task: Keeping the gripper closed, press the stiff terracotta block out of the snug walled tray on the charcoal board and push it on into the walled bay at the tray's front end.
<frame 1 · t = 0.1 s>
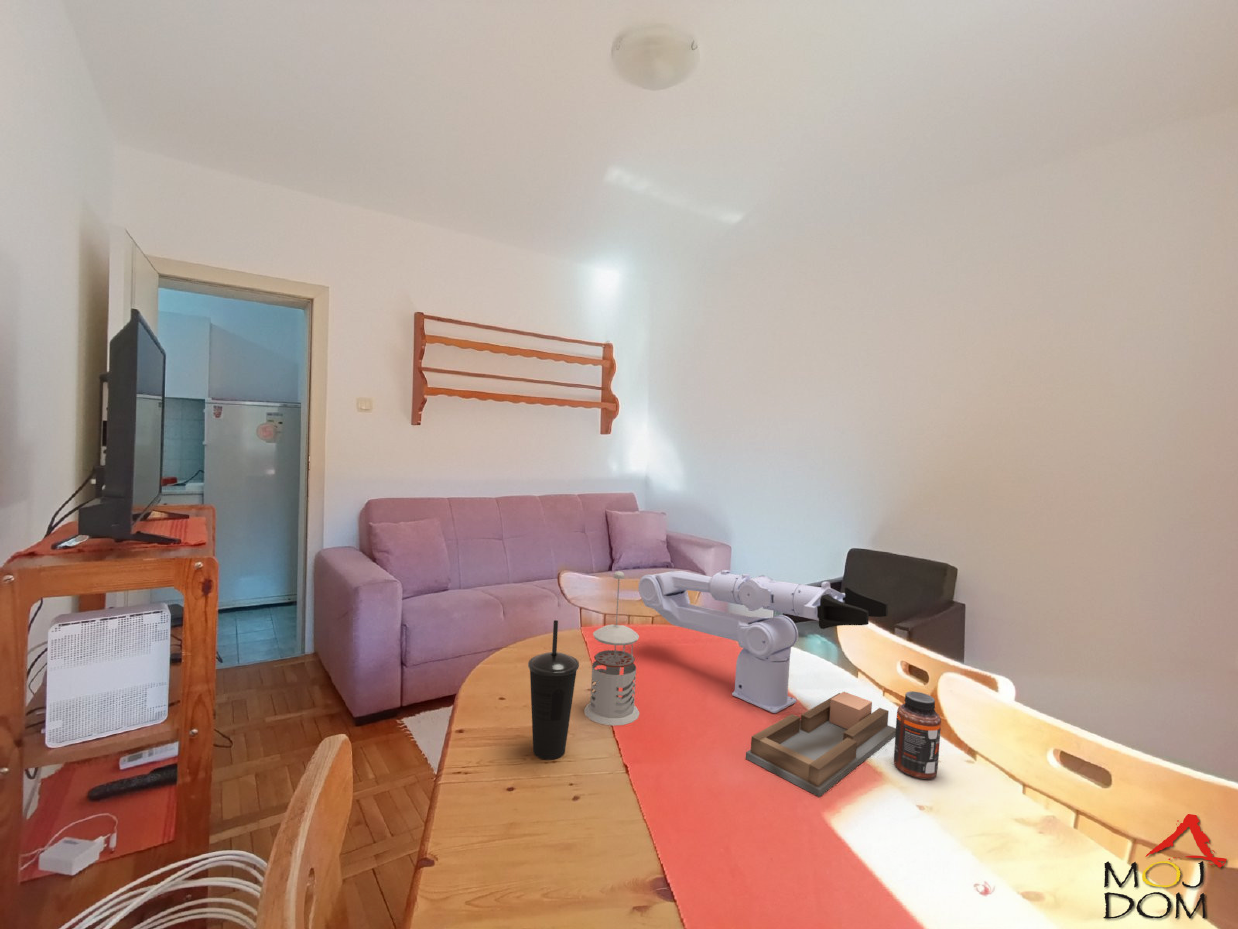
hand: (877, 614, 92), 22 cm above the table, tool horizontal, fingers open, 7 cm apart
french press: (613, 710, 99), on the table
walled tray: (844, 733, 95), on the table
drinking cup: (549, 752, 85), on the table
block: (850, 711, 97), point 3 cm above the table, slide at 0.0 cm
supplement bottle: (914, 770, 85), on the table
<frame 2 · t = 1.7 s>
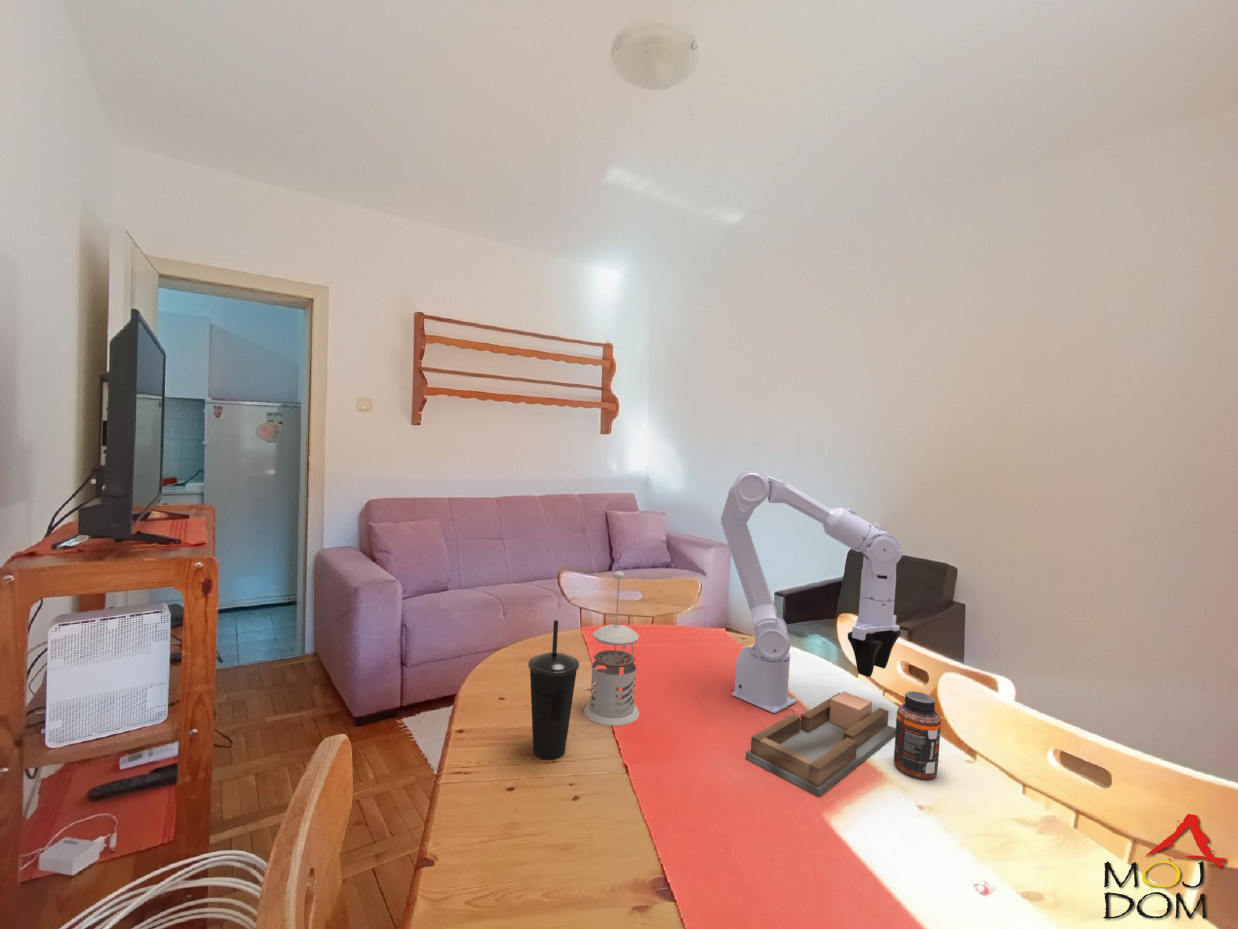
hand: (872, 670, 102), 8 cm above the table, tool pointing down, fingers open, 6 cm apart
nothing on the table moved.
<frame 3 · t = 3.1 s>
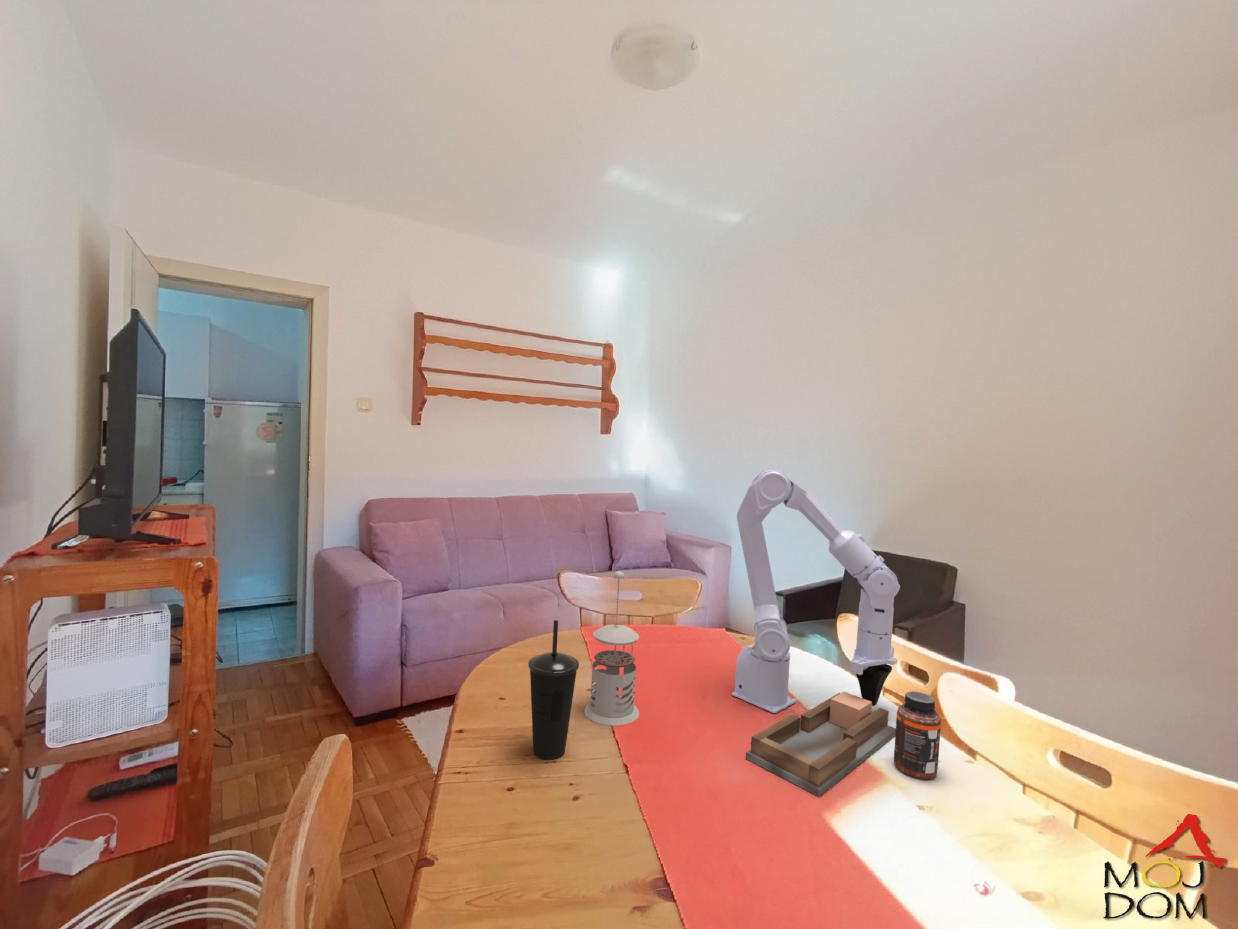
hand: (869, 703, 102), 2 cm above the table, tool pointing down, fingers closed
nothing on the table moved.
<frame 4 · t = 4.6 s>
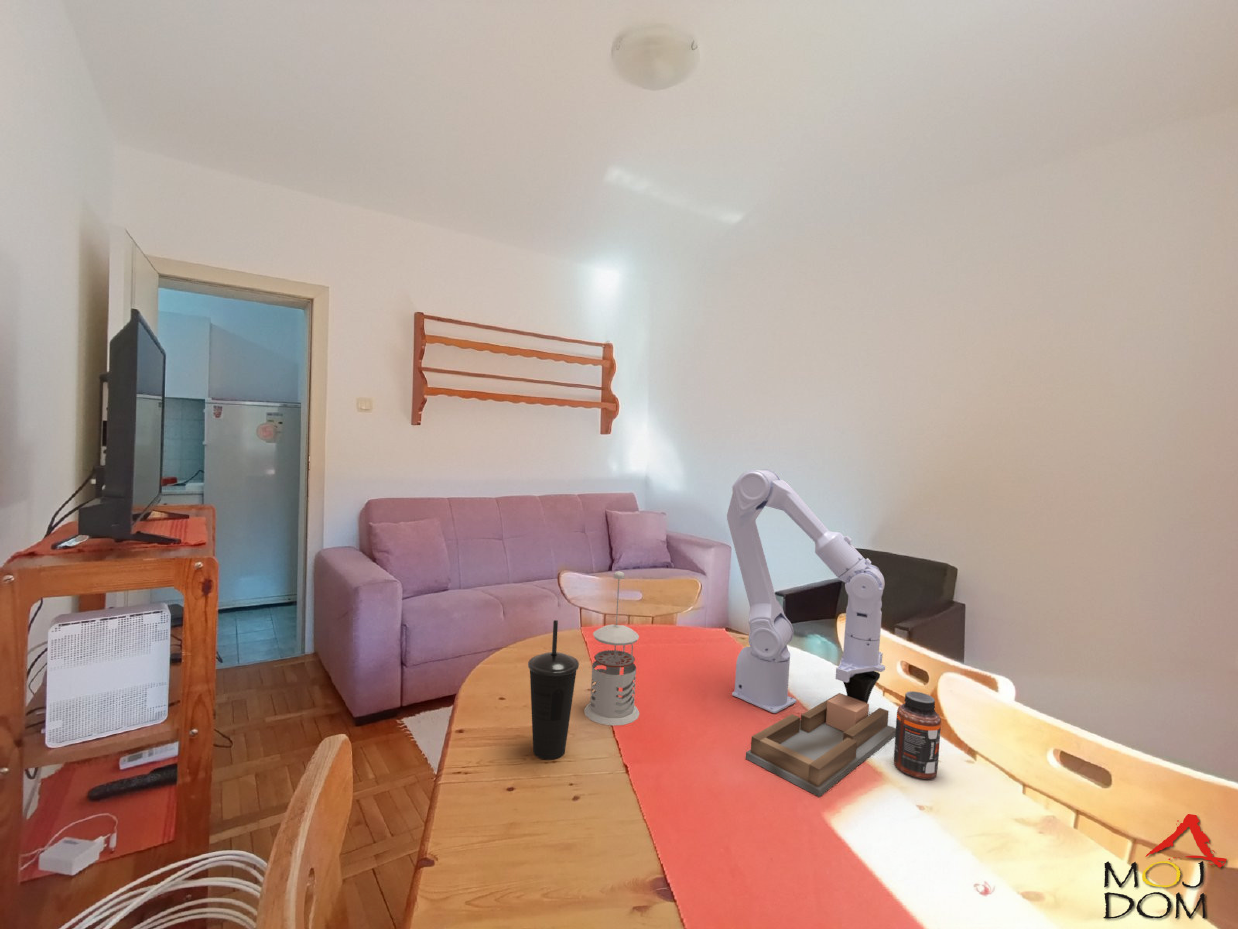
hand: (856, 711, 98), 2 cm above the table, tool pointing down, fingers closed
block: (847, 714, 96), point 3 cm above the table, slide at 1.3 cm, touching gripper
everything else where it was.
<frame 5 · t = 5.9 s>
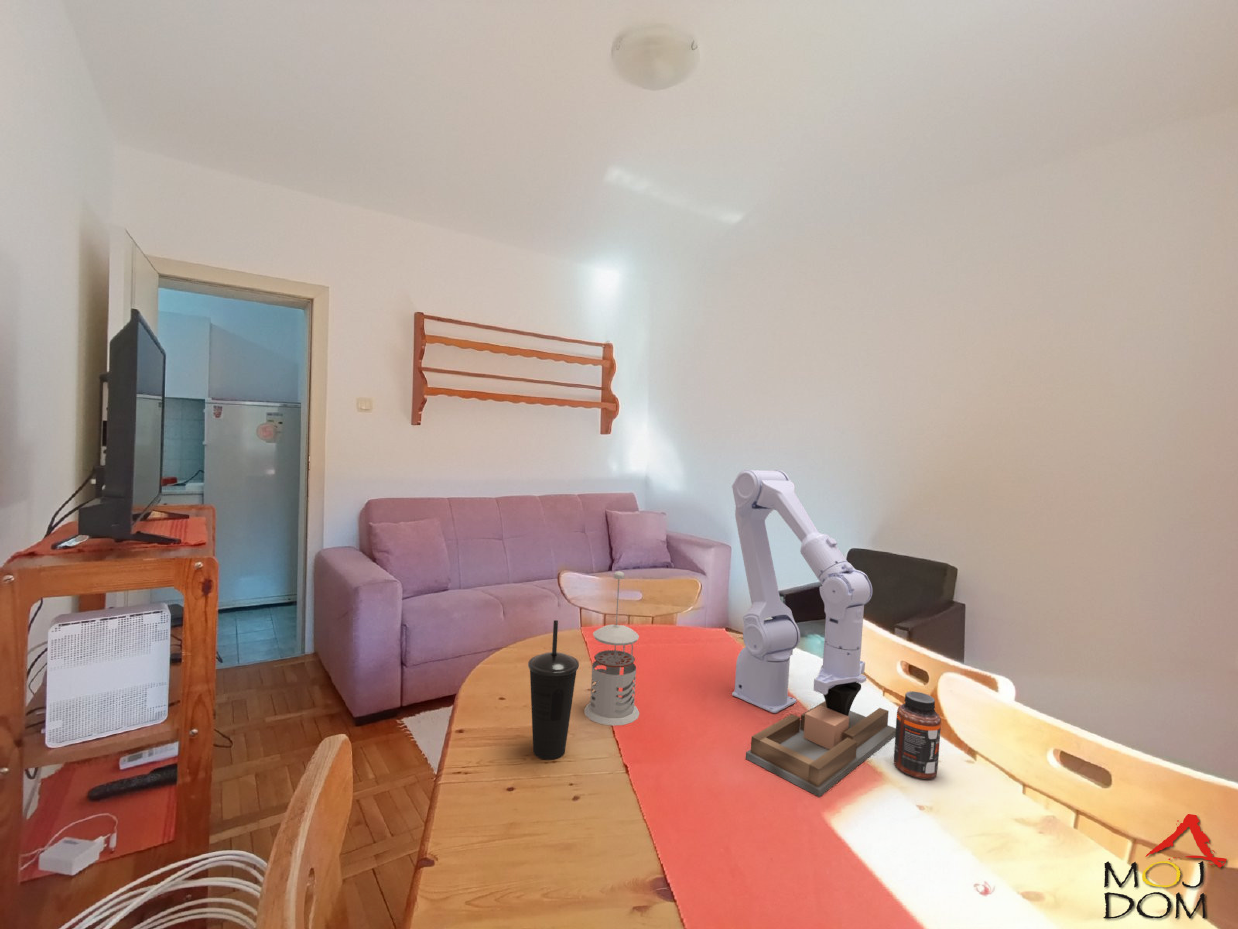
hand: (837, 724, 93), 2 cm above the table, tool pointing down, fingers closed
block: (826, 727, 91), point 3 cm above the table, slide at 8.9 cm, touching gripper
everything else where it was.
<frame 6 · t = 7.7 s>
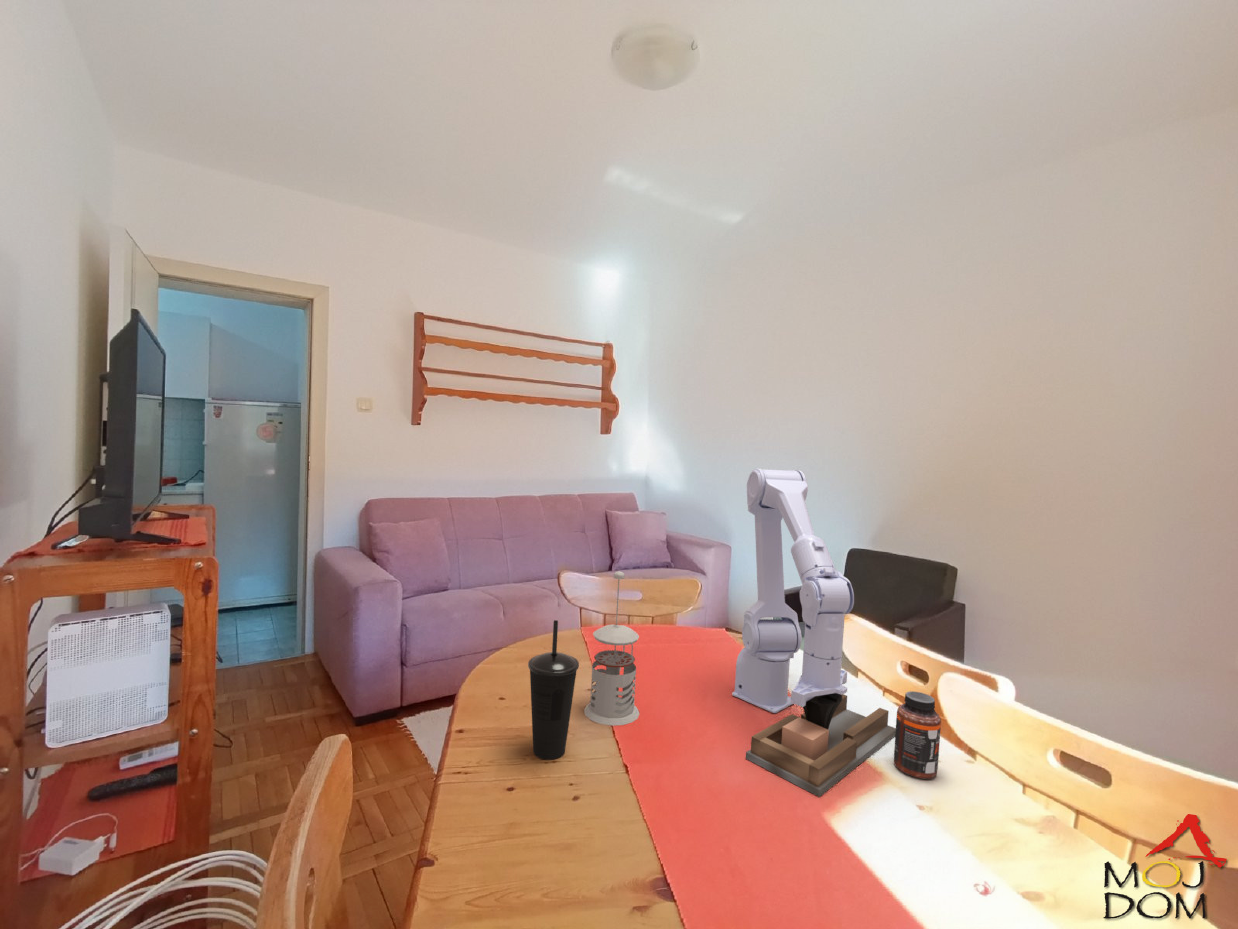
hand: (816, 737, 88), 2 cm above the table, tool pointing down, fingers closed
block: (804, 741, 86), point 3 cm above the table, slide at 15.8 cm, touching gripper
everything else where it was.
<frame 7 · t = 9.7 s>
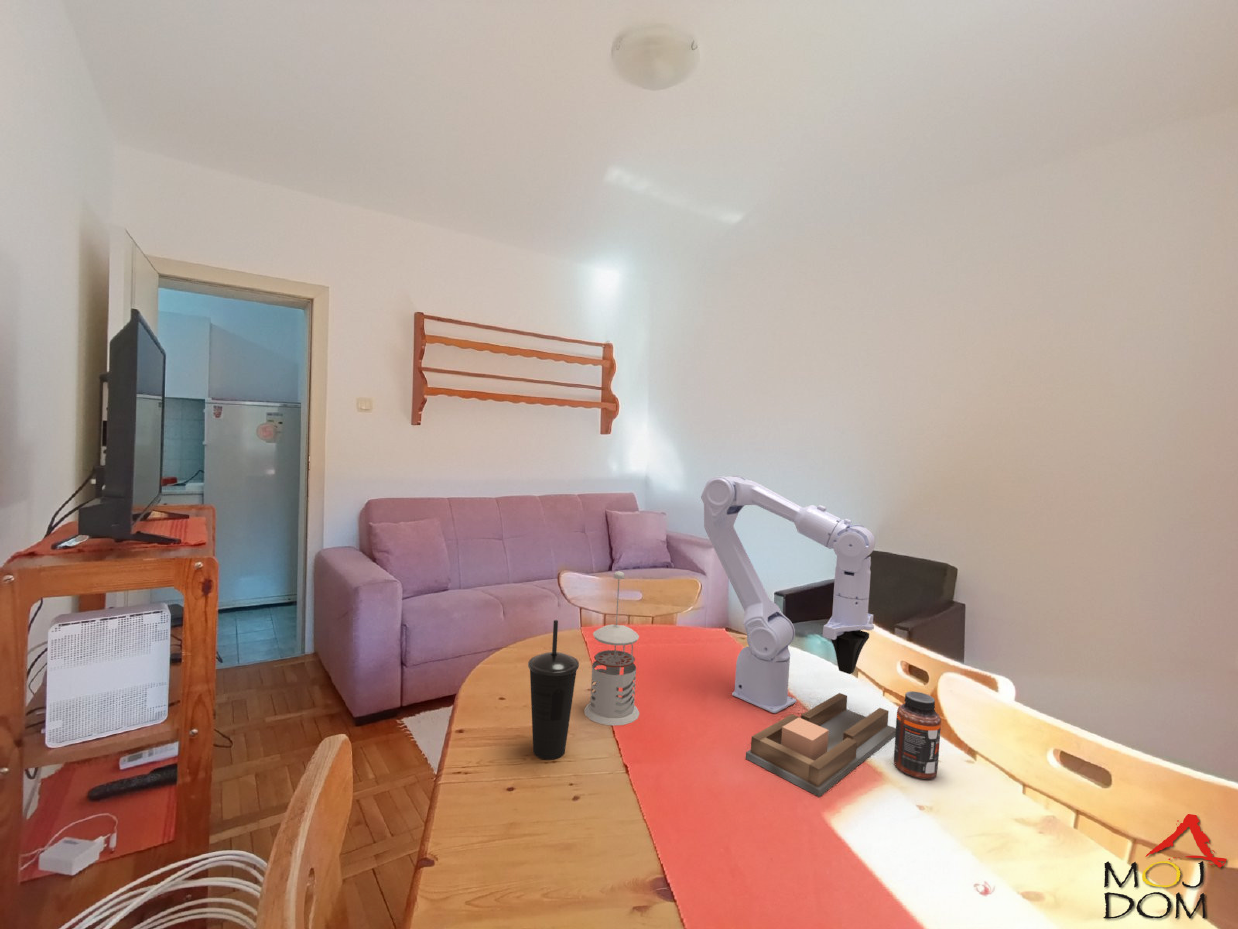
hand: (846, 671, 98), 9 cm above the table, tool pointing down, fingers closed
block: (804, 741, 86), point 3 cm above the table, slide at 15.9 cm
everything else where it was.
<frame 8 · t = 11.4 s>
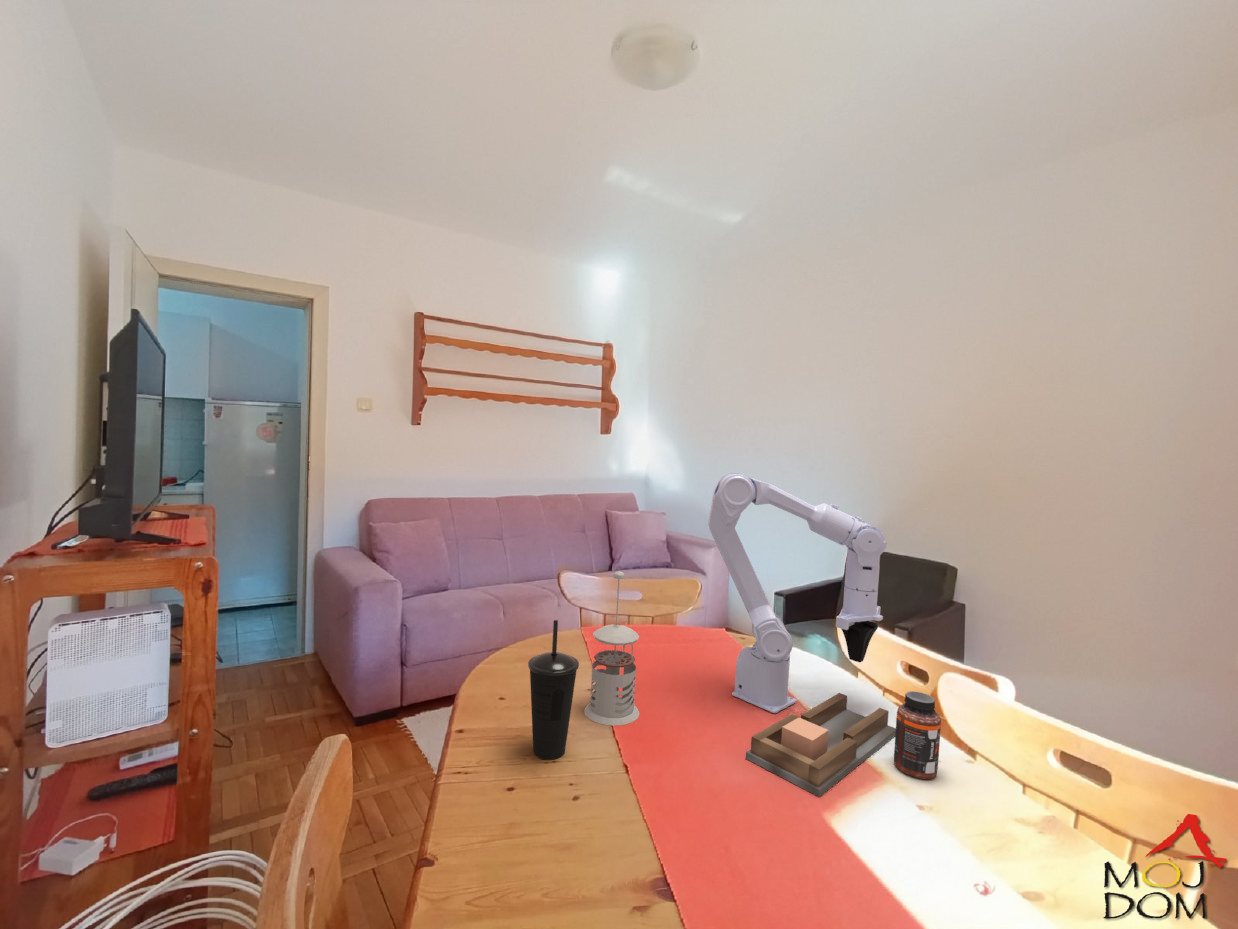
hand: (856, 660, 104), 9 cm above the table, tool pointing down, fingers closed
nothing on the table moved.
at the end: block slide at 15.9 cm; block inside the target area (0.4 cm from its centre), resting on walled tray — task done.
